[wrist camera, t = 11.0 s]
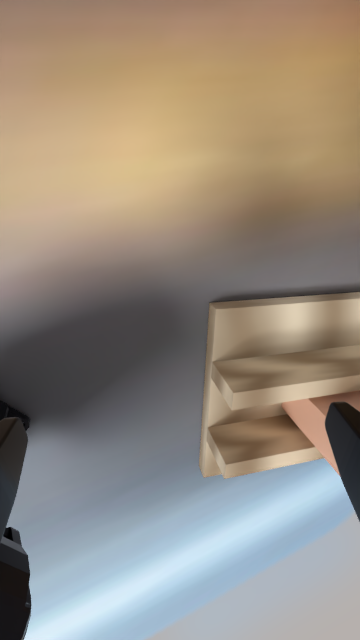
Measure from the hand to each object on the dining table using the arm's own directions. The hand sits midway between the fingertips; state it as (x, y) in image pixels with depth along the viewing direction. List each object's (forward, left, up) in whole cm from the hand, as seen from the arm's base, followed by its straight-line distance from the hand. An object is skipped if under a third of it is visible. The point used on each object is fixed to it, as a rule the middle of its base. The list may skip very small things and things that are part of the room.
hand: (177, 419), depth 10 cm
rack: (+4, -15, -12) cm, 19 cm away
